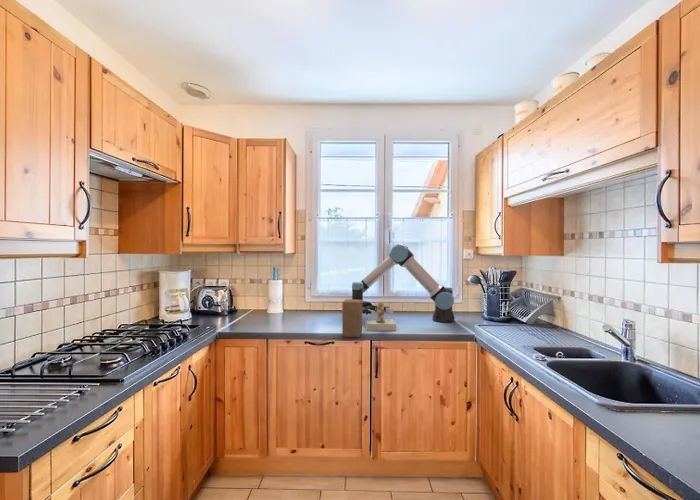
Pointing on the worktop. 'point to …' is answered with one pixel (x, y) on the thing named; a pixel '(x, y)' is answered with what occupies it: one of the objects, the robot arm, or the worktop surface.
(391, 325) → the socket block
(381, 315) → the beech leg
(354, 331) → the wooden block
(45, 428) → the worktop surface
